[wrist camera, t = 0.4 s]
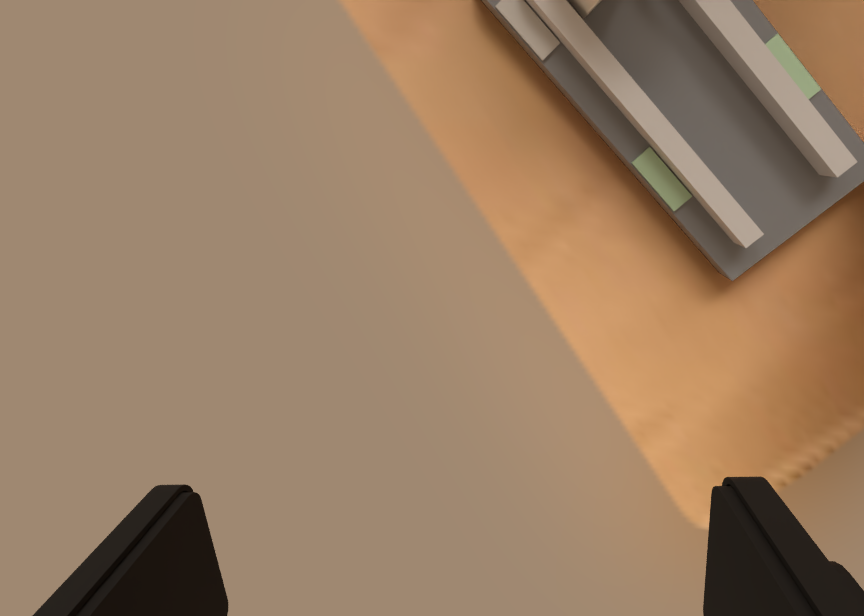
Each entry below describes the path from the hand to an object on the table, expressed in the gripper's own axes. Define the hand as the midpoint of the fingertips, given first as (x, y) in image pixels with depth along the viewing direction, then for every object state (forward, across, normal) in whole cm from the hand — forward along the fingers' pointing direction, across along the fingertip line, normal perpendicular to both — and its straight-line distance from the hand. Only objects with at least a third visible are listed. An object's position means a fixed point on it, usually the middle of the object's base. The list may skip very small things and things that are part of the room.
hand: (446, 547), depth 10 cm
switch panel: (+29, -12, -9) cm, 33 cm away
